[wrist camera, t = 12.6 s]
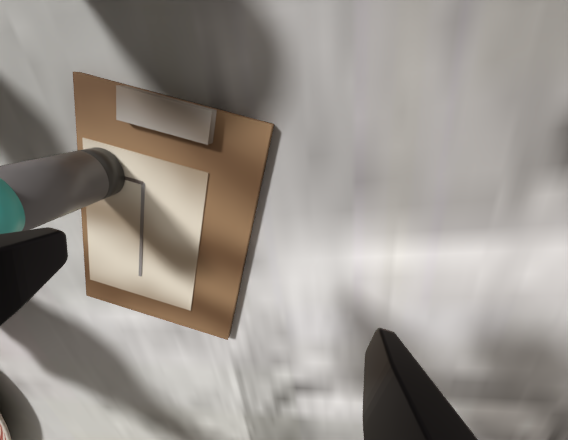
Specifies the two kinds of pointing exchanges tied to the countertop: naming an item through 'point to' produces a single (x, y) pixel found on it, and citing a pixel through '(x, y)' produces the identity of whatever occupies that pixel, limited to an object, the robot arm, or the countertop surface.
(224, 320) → the clipboard
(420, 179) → the countertop surface
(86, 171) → the marker
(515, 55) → the countertop surface
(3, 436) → the dinner plate
